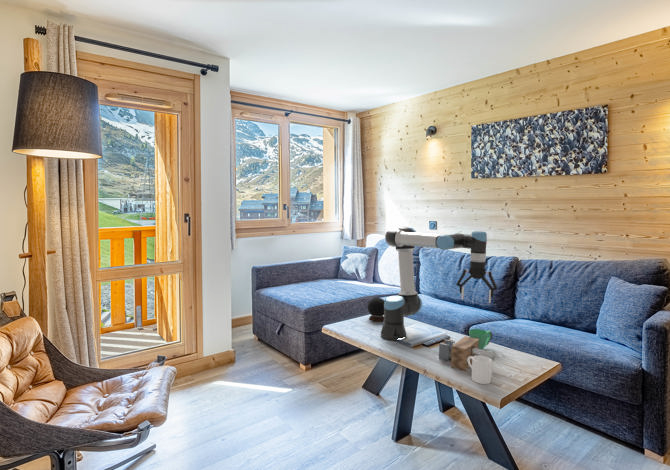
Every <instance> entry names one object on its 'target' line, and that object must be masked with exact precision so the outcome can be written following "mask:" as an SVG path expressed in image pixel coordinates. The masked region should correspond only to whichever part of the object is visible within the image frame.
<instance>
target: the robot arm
mask: <svg viewBox="0 0 670 470" xmlns="http://www.w3.org/2000/svg"><path fill="white" fill-rule="evenodd" d="M487 235H488V234H487V232H486V231H484V230H482V231H481V230H480V231H479V230H478V231H477V230H474V231H473V230H472V232H471V234H468V233H467V234H466V233H460V232H459V233H458V232H457V233H451V234H443V233H442V234H439V233H437V234H436V233H423V232H417V230H415V229H414V228H413V227H411V226H400V227H396V226H395V227H391V228H389V229H388V230H387V231H386V233H385V235H384V236H385V237H384V239H385V242H386V244H387V245H389V246H390V247H393V248H395V251H396V252H398V266H399V283H400V291H399V292H398V295H391V296H388V297H386V298H385V299H384V301H385V302H384V315H383V316H384V321H383V325H382V328H381V330H380V337H381V338H382V339H384V340H388V341H393V342H395V341H397V339H398V338H403V337H406V338H407V331H406V327H405V322H404V321H405V317H408V316H414V315H416V314H418V313H419V312H420V311H421V310H422V307H423V301H422V298H421V297H420V296H419V295H418V294H419V293H418V291H417V290H416V288H415V287H416V286H415V270H414V255H413V251H414V250H415V249H416V247H420V248H431V249H432V248H433V249H440V250H441V251H448V250H453V249H470V256H469V257H470V261H469V269H467V268H464V269H463V270H462V271H463V272H462V274H461V276H460V277H459V279H458V280H457V282H456V284H455V285H456V286H458V288H459V293H460V294H461V295H460V296H461V300H462V301H463V300H464V295H465V284H466V283H467V282H469V281H470V279H477V280H482V281H483V282H484V283H485V285H486V286H487V287H488V288H489V291H488V293H489V294H488V304H491V303H492V302H491V301H492V297H494V291H497V290H498V285H497V283H496V281H495V279H494V277H493V275H492V270H489V271H486V260H487V259H486V258H487V243H488V240H487V239H488V236H487ZM466 274H469V276H468V277H467V278H466V279H465V280H464V281H463V278H464V277H465V276H466ZM485 275H487V276H488V277H489V280H490V281H491V283H490V282H489V280H488V279H487V278H486V276H485ZM462 281H463V282H462ZM461 282H462V283H461Z"/></svg>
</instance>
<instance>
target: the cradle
mask: <svg viewBox="0 0 670 470" xmlns="http://www.w3.org/2000/svg"><path fill="white" fill-rule="evenodd" d="M452 343H456V341H455V340H450V339H444V343H443V342H440V343H439V344H438V360H441V361H444V362H451V356H452V349H451V346H452Z"/></svg>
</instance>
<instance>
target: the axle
mask: <svg viewBox="0 0 670 470" xmlns="http://www.w3.org/2000/svg"><path fill="white" fill-rule="evenodd" d="M455 343H456V342H455ZM455 343H452V345H454V344H455ZM451 349H452V346H451ZM471 355H474V356H486V357H488V358H490V359H491V360H492V361H494V360H495V355H496V354H495V352H494V351H490V350H485V349H483V350H482V349H477V348H473V347H471Z"/></svg>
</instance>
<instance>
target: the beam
mask: <svg viewBox="0 0 670 470" xmlns="http://www.w3.org/2000/svg"><path fill="white" fill-rule="evenodd" d="M471 347H473V348H477V349H479V339H476V338H471V337H470V336H466V335H465V336H464V337H462V338H461V339H459V340H458V341H457V342H455V344H454V345H452V356H451V360H450V367H451V368H455V369H458V370H462V371H465V372H466V371H467V369H469V368H470V366H469V365H468V361H467V359H468V357H469V356H472V357H474V355H471ZM470 364H471V365H472V359H470Z"/></svg>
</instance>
